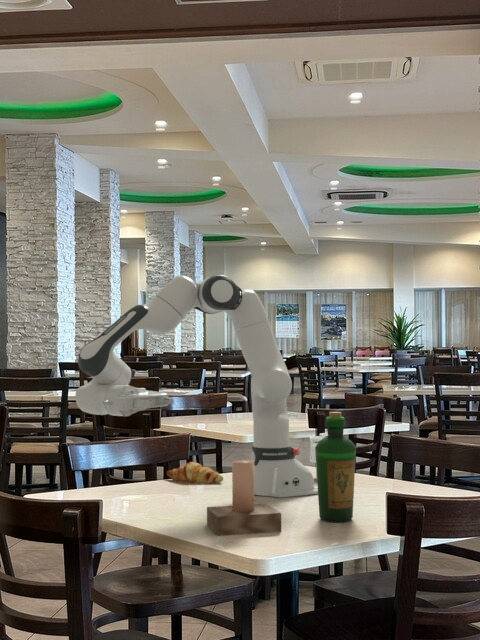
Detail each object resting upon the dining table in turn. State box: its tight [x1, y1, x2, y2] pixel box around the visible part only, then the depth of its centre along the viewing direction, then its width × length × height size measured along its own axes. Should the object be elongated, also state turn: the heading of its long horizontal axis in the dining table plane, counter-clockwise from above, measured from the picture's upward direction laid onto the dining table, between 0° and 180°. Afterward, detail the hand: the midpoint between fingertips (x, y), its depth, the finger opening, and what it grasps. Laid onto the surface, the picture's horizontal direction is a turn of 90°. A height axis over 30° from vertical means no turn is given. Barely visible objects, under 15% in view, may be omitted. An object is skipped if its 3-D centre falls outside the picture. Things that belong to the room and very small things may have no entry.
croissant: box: [166, 461, 224, 484], centre depth 272 cm, size 21×10×8 cm, turn 67°
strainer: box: [309, 432, 327, 479], centre depth 278 cm, size 7×7×15 cm
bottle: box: [315, 411, 357, 523], centre depth 213 cm, size 11×11×28 cm
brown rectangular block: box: [206, 503, 282, 536], centre depth 203 cm, size 16×12×4 cm
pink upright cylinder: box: [231, 459, 255, 512], centre depth 204 cm, size 6×6×12 cm
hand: (161, 402), depth 224 cm, fingers open, 8 cm apart
